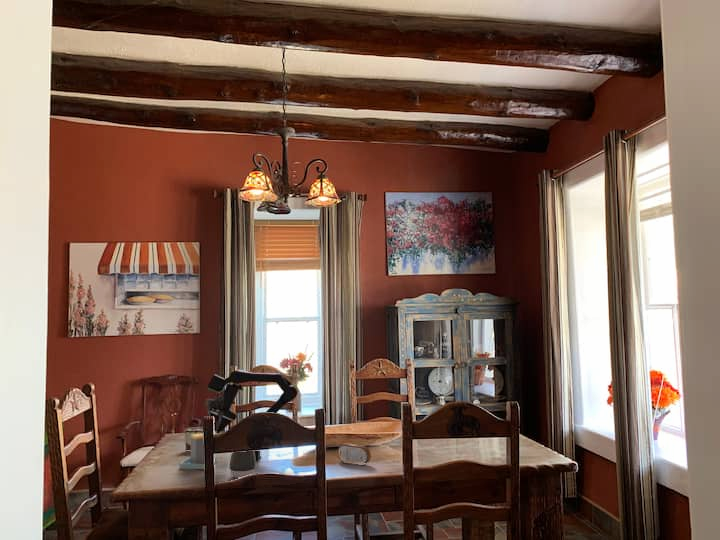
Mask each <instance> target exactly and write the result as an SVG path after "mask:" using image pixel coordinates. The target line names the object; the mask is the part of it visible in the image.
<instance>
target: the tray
mask: <svg viewBox="0 0 720 540" xmlns="http://www.w3.org/2000/svg"><path fill="white" fill-rule="evenodd" d="M214 457H215V464H216V463H217V457H216V456H214ZM182 468H183V469H182ZM193 469H204V464H193V463H190V457H188V458H186V459H184V460H182V461H181V462H179V470H193Z"/></svg>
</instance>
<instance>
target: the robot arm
mask: <svg viewBox="0 0 720 540" xmlns="http://www.w3.org/2000/svg"><path fill="white" fill-rule="evenodd" d="M249 382H250V383H251V382H253V383H254V382H255V383H275V384H277V385H278V387H279V388H280V390H281V391H282V394H281V395H280V397H279V398H278V399H277V400H276V401H275V402H274V403H273V404H272V405H271V406H270V407H269V408H268V409H267V410H266V411H265V412H274V413H276V414H277V413H278V412H279V411H280V410H281V409H282V408H283V407H284V406H286V405H287V404H288V403H290V402H291V401H293V400H295V398H297V396H298V395H299V393H300V392H299V387H298V386H296V385H295V384H293V383H291V381H290V380H288V379H287V378H286V377H285V376H284V374H283V373H282V372H278V373H272V372H251V371H248V370H245V369H244V370H243V369H236V370H233V371H231V373H230V374H229V376H227V377H225V378H224V377H222V376H219V375H218V374H216V373H215V374H213V376H212V377H211V379H210V381H209V382H208V384H207V389H208V390H210V391H213V392H216V393H218V394H220V393H222V395H221V396H219V397H214V398H206V400H205V407H206V411H207V414H208V416H214V417H215V423H214V426H215V425H216V424H217V422H219V423H218V426H217V428H216V432H215V433H216V434H217V433H219V434H220V433H221V432H222V431H224V429H225V428H226V427H228V426H229V425H230V424H232V423H233V421H236V420H237V417H238V416H237V413H235V412H233V411H232V410H231V408H232V406H233V405H235V404H236V401H235V399H236V398H237V395H238V393H239V391H241V392H244V391H245V390H244V389H243V384H245V383H249ZM254 452H255V458H256V462H258V461H259V460H260V459H261V458H262V456H261V450H260V451H254Z"/></svg>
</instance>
